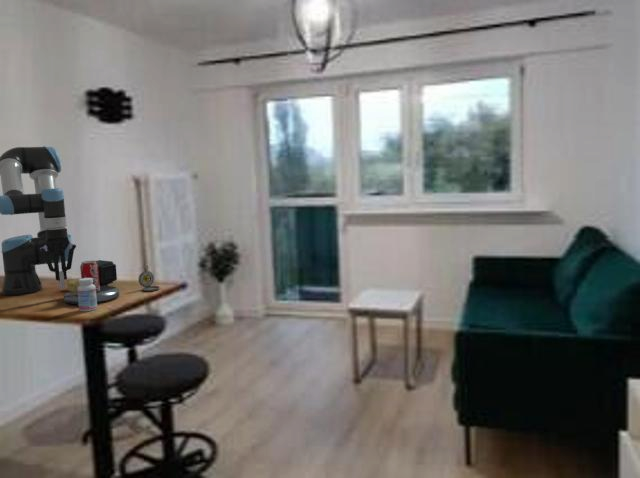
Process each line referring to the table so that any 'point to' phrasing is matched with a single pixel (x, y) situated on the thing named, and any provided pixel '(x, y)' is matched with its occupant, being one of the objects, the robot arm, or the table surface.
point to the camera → (106, 272)
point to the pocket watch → (147, 280)
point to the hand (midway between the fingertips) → (62, 288)
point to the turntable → (101, 295)
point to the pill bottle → (87, 295)
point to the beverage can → (90, 272)
